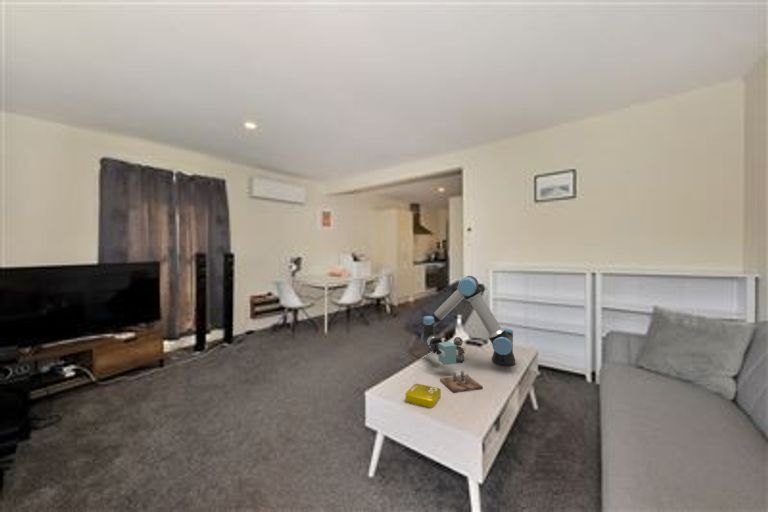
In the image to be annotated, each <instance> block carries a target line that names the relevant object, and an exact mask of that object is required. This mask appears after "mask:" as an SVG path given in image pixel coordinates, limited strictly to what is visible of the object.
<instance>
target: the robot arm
mask: <svg viewBox="0 0 768 512" xmlns="http://www.w3.org/2000/svg"><path fill="white" fill-rule="evenodd" d="M482 293H483V291H482V290H481V288H480V286H479V281H478V279H477V278H476V277H475V276H473V275H467V276H464V277H462V278H461V279H460V280H459V282H458V284H457V289H456V290H455V291H453V293H452V294H451V295H450V296H448V298H447V299H446V300H445V301H444V302H443V303H442V304H441V305H440V306H439V307H438V308H437V309H436V310H435V311H434V312H433V313H432V314H431V315H426V316H423V320H422V324H423V325H422V326H423V328H422V329H423V331H422V333H421V336H420V337H421V338H420V339H421V341H422V342H423V343H424V344H426V345H427V346H428V349H430V350H431V351H432V353H433V354H436V355H438V354H441V355H442V356H443V357H445V352H444V351H442V350H441V349H439V348H438V343H442V341H443V340H441V339H440V338H438V337H436V336H435V327H436V326H437V325H439V323H440V322H441V321H443V319H444V318H445V317H446V316H448V314H449V313H450V312H451V311H452V310H453V309H455V308H456V306H458V305H459V303H460V302H462V300H464V299H465V301H468V302H469V303H470V304H471V306H472V308H473V309H474V311H475V313H476V315H477V317H478V318H479V319H480V322H481V323H482V324H483V326H484V328H485V329H486V331H487V333H488V339H489V342H490V343H491V345H492V349H493V352H492V353H493V354H492V356H491V362H492V363H493V364H494V365H495V364H496V365H497V366H498V365H499V366H503V367H508V366H509V367H511V366H515V365H516V358H515V355H514V350H513V349H514V348H513V347H514V345H513V344H514V330H512V329H511V328H507V327H501V325H500V324H499V323H498V320H497V319H496V317H495V316H494V314H493V312H492V311H491V309H490V307H489V306H488V304H487V302H486V300H485V299H484V298H483V295H482ZM456 355H458V350H456Z"/></svg>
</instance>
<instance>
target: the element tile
mask: <svg viewBox="0 0 768 512" xmlns="http://www.w3.org/2000/svg"><path fill="white" fill-rule="evenodd" d="M441 393H442V391H441V388H439V387H435V386H431V385H425V384H421V383H415V384H413V385H412V386H411V387H410V388H409V389H408V390H407V391H406V393H405V403H407V402H409V403H408V404H411V403H413V404H412V405H415V404H416V406H419V407H422V408H423V407H424V408H428V409H432V408H434V407H436V405H437V403H438V402H439V401H440V400H441V399H442V398H441V397H442V394H441Z"/></svg>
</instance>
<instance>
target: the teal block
mask: <svg viewBox="0 0 768 512" xmlns="http://www.w3.org/2000/svg"><path fill="white" fill-rule="evenodd" d="M438 348H439V349H441V350H442V351H444V352H445V357H443V356H442V355H441V354H437V355H438V356H437V357H438V360H437V361H439V362H440V363H441V364H442V365H444V366H446V365H453V364H457V358H456V345H455V344H454V343H453V342H451V341H444V342H442V343H438Z"/></svg>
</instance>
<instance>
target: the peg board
mask: <svg viewBox="0 0 768 512" xmlns="http://www.w3.org/2000/svg"><path fill="white" fill-rule="evenodd" d="M439 381H440V382H441V383H442V384H443V385H444V386H445V387H446V388H447V389H448V390H449V391H450V392H452V393H453V394H455V393H456V394H457V393H463V392H469V391H470V392H471V391H476V390H477V391H479V390H483V385H482V384H481V383H479V382H478V381H476V380H475V379H474V378H472V377H471V376H470V375H469V373H465V371H464V370H461V371H460V374H458V375H457V372H456V371H452V376H449V377H440V378H439Z"/></svg>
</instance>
